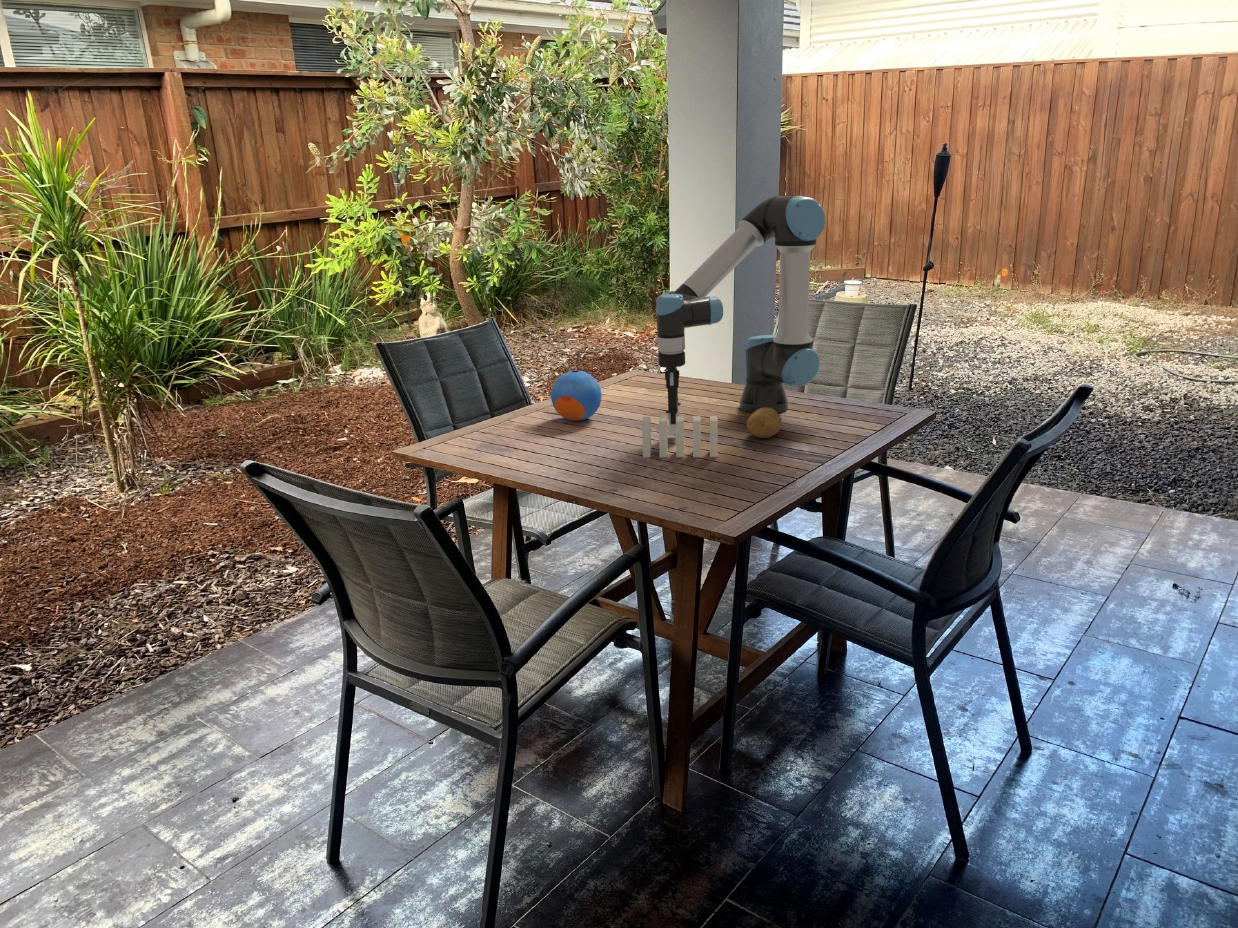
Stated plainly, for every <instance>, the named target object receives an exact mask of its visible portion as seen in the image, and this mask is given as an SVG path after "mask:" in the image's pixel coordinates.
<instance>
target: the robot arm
mask: <svg viewBox="0 0 1238 928" xmlns="http://www.w3.org/2000/svg"><path fill="white" fill-rule="evenodd" d="M825 225H826V215H825V212H824V209H823V206H822V205H821V204H820V203H819V201H817V200H816V199H815V198H811V197H808V196H804V195H803V196H802V195H797V196H796V195H792V196H791V195H788V196H787V195H774V196H771V197H768V198H766V199H765V200H763V201H762V202H760V203H759V204H758V205H756V206H755V207H754V208H752V209H751V210H750V211H749V212H748V213H747V214H746V215H745V216H744V217H743V218H742V219H741V220H739V222H738V228H736V230H735V231H734V232H733V233H732V234H730V236H729V237H727V238H726V240H725V241H724V242H723V243H722V244H720V246H718V248H716V249H715V251H714V252H713V253H712V254H711V255H709V257H708V258H706V260H705V261H704V262H703V263H702V264H701V265H700V266H699V267H698V268H697V269H696V270H695V271H693V273H691V275H690V276H689V277H688V278H687V279H686V280H685V281H684V282H682V283H681V285H680V286H678V288H676V290H673V291H666V292H665V293H663V294H662V295H659V296H658V297H657V298H656V303H655V304H656V305H655V315H656V331H657V332H656V333H657V339H655V344H657V351H659V352H658V353H657V363H658V365H659V366H660V367H662V368H666V369H667V370H664V378H665V388H666V389H667V406H668V407H667V408H668V409H667V410H665V414H667V415H668V416H667V420H668V436H676V416H680V415H679V413H680V412H679V411H680V410H679V408H678V409H677V403H678V407H679V406H681V405H682V403H681V402H680V401H679V393H678V389H679V387H680V386H679V383H680V382H679V381H680V380H679V379H680V370H679V369H678V368H679V367H680V368H681V367H683V366H684V365H685V364H686V352H685V350H686V335H685V329H688V328H692V327H701V326H708V325H709V326H711V325H714V324H718V323H719V322H720V321H722V319H723V316H724V305H723V302H722V300H721V299H720V298H719V297H718V296H708V295H709V294H711V292H713V290H714V289H716V287H717V286H719V284H720V283H721V282H722V281H723V280H724V279H725V278H726V277H727V276H728V275H730V274H731V272H732V271H734V269H735V268H736V267H737V266H738V265H739V264H740V263H741V262H742V261H743V260H745V258H746V257H747V256H748V255H750V253H751V252H752V251H753V250H754V249H756V247H762V246H763V245H764V244H765V243H766V242H767V241H768V240H771V239H774V247H775V248H776V249H777V250H778V251H779V278H778V279H779V284H778V289H779V290H778V318H777V320H778V322H777V323H778V324H777V325H778V326H777V327H778V328H777V329H778V330H777V332H778V333H777V334H765V335H764V334H763V335H756V336H755V335H754V336H751V337H749V338H747V340H746V343H745V348H744V349H745V385H744V387H743V390H742V393H741V395H740V396H741V397H740V399H739V408H740V410H741V411H743V412H746V413H749V414H750V413H751V414H753V413H754V412H755V411H756V410H758V409H760V408H772V409H774V410H775V411H776V412H777V413H778V414H780V413H782V412H786V411H787V410H788V409H789V401H788V396H787V394H786V390H785V387H784V384H785V385H788V386H791V387H793V386H794V387H803V386H806V385H807V384H809V383H811V381H813V379H814V378H815V377H816V376H817V374H818V372H819V370H820V364H821V362H820V361H821V360H820V359H821V358H820V357H819V355H818V354H817V352H816V351H815V350H814V349H813V342H814V341H813V338H812V337H811V336H810V335H809V333H808V329H809V306H810V305H809V301H810V300H809V299H810V297H809V295H810V275H811V274H810V272H811V271H810V270H811V269H810V268H811V251H813V249H814V248H815V247H816V245H817V238H818V237H820V236H821V234H822V232H823V231H824V229H825Z"/></svg>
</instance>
